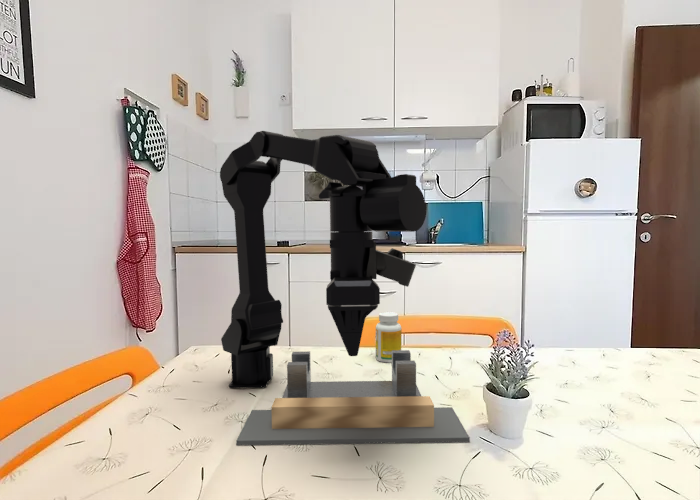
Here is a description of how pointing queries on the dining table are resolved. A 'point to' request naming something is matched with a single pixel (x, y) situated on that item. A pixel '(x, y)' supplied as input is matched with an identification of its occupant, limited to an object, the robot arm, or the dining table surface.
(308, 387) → the cradle stand
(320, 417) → the oak bar
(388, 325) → the supplement bottle
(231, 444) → the dining table surface
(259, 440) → the rubber mat
